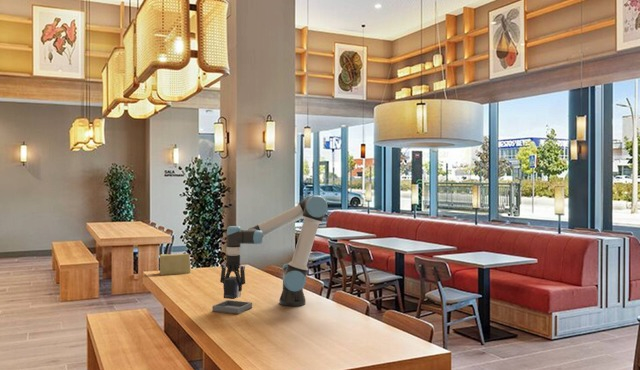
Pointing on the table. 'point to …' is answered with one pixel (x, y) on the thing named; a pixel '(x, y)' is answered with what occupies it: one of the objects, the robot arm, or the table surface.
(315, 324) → the table surface
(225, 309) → the tray
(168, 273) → the olive rectangular block
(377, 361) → the table surface
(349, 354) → the table surface
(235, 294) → the small box
